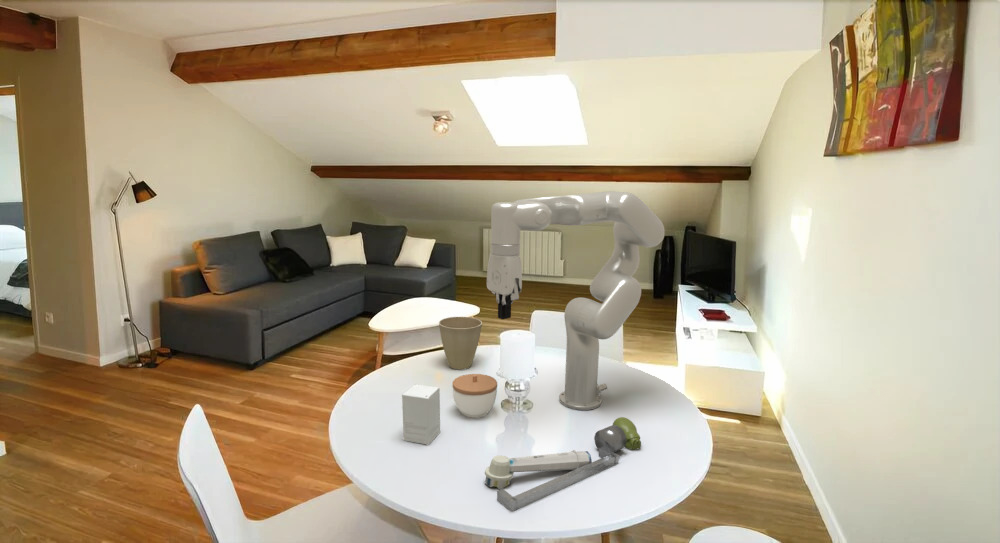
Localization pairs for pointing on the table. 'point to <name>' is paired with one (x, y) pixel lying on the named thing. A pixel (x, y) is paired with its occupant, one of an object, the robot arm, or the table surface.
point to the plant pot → (460, 340)
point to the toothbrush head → (532, 465)
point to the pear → (629, 432)
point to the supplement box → (421, 414)
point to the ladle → (605, 443)
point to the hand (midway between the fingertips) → (504, 317)
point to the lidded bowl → (474, 394)
